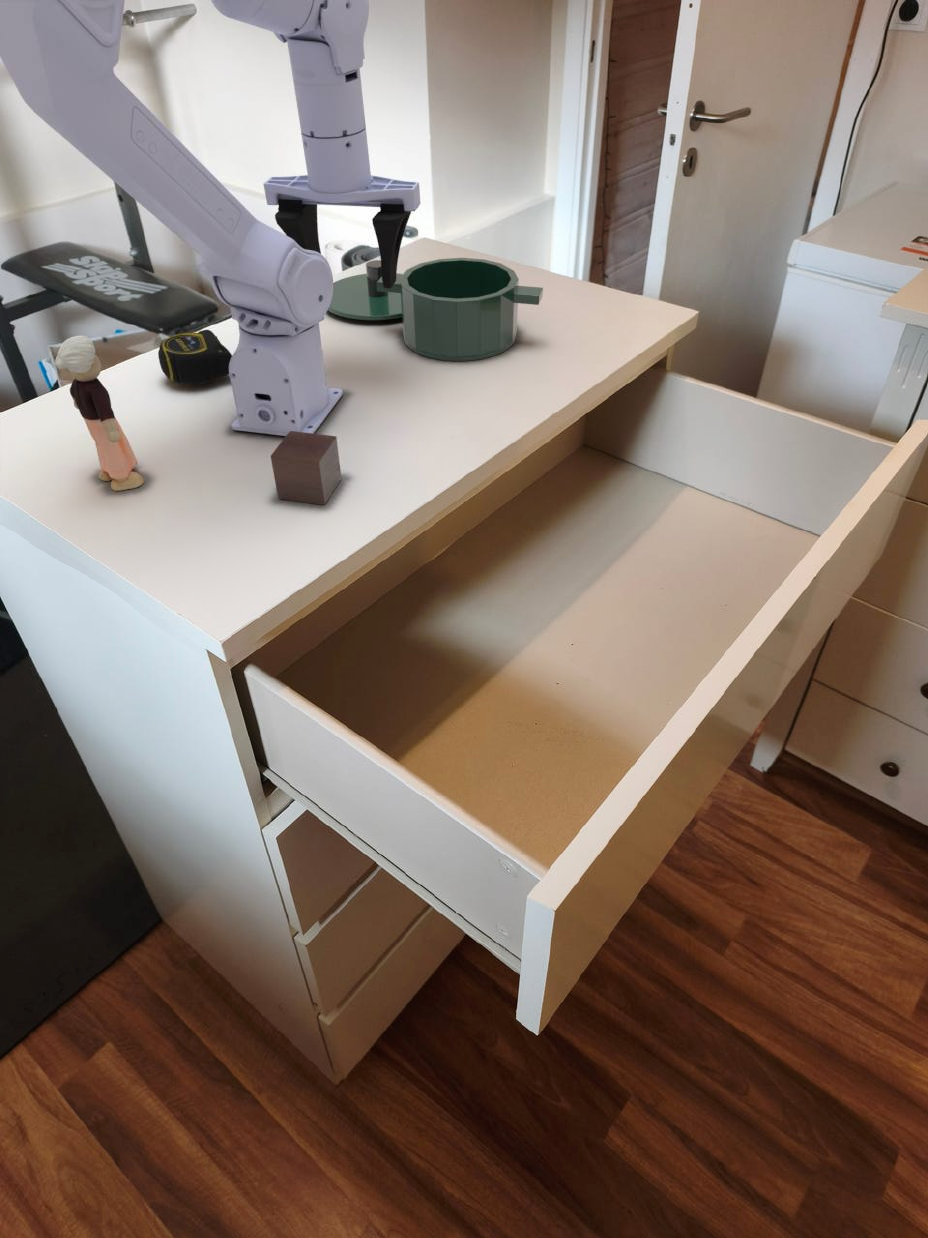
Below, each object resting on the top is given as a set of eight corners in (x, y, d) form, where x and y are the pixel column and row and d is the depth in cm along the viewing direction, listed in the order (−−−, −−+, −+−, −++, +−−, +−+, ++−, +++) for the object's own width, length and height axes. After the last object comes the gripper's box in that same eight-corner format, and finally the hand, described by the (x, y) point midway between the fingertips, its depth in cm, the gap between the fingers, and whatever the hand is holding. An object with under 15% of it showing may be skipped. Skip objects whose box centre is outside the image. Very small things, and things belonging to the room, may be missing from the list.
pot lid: (419, 329, 97) (417, 289, 94) (305, 320, 100) (299, 280, 97) (447, 285, 107) (446, 247, 104) (343, 277, 110) (339, 240, 107)
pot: (528, 368, 90) (530, 307, 85) (366, 352, 93) (360, 293, 89) (547, 321, 99) (551, 264, 94) (399, 308, 102) (396, 252, 98)
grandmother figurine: (164, 481, 74) (123, 340, 65) (127, 500, 72) (80, 358, 63) (111, 453, 78) (66, 316, 69) (74, 471, 75) (23, 332, 67)
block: (324, 505, 71) (318, 461, 68) (277, 498, 72) (269, 455, 69) (341, 478, 74) (336, 435, 71) (296, 472, 75) (289, 430, 72)
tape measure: (239, 382, 88) (233, 347, 85) (173, 397, 85) (164, 362, 83) (221, 357, 92) (214, 323, 90) (157, 370, 90) (148, 336, 87)
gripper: (424, 117, 76) (433, 269, 86) (274, 114, 79) (299, 261, 89) (402, 141, 71) (415, 299, 81) (243, 136, 74) (273, 290, 84)
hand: (353, 281), depth 84 cm, fingers open, 7 cm apart
